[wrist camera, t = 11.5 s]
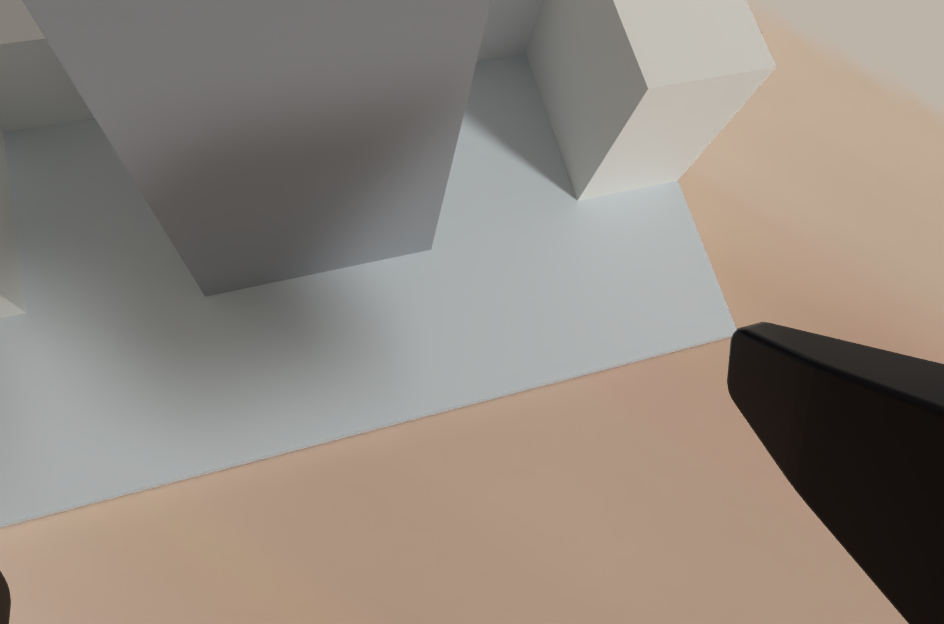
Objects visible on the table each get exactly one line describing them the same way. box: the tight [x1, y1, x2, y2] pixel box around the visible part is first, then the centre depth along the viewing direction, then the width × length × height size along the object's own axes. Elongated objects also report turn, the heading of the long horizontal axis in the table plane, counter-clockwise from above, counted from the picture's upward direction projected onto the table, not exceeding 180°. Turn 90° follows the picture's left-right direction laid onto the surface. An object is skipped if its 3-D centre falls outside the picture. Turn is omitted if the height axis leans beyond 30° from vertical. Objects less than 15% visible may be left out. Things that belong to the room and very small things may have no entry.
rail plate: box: [0, 0, 776, 528], centre depth 15 cm, size 12×24×5 cm, turn 106°
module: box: [22, 0, 491, 297], centre depth 13 cm, size 4×6×11 cm
